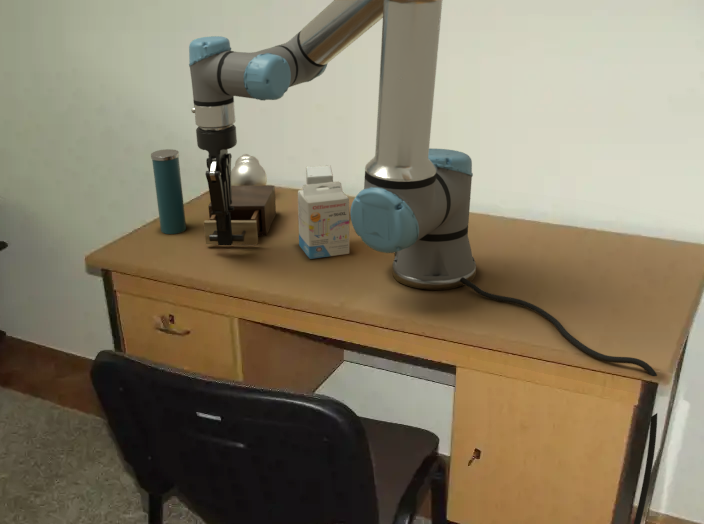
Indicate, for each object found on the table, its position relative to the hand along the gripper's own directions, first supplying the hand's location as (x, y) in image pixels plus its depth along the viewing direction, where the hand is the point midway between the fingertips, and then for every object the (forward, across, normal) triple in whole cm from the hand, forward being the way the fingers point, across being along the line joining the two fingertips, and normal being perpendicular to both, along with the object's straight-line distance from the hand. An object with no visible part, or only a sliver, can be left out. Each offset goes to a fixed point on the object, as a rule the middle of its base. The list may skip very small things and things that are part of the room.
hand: (225, 243), depth 177 cm
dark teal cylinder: (+3, -16, -15) cm, 22 cm away
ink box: (+3, -4, +19) cm, 20 cm away
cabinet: (+3, -19, 0) cm, 19 cm away
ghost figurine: (+3, -38, -2) cm, 38 cm away
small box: (+3, -24, +17) cm, 29 cm away
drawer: (+2, -9, 0) cm, 9 cm away
